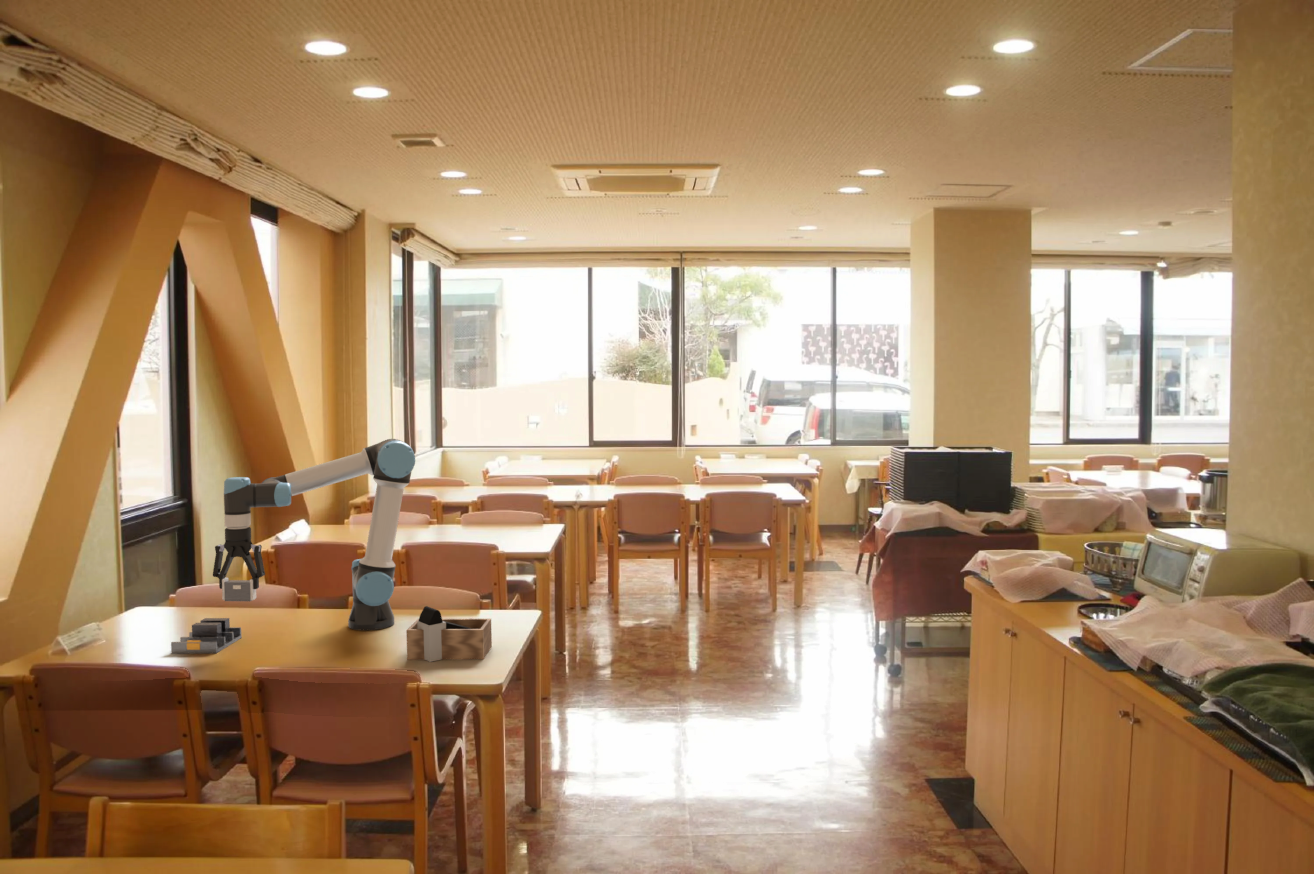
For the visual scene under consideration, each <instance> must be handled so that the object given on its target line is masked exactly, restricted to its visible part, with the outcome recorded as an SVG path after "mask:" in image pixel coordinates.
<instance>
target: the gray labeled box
mask: <svg viewBox="0 0 1314 874" xmlns="http://www.w3.org/2000/svg"><path fill="white" fill-rule="evenodd" d="M224 592H225V600H224V602H252V601H253V600H250V579H249V580H246V579H245V580H244V579H241V580H239V579H236V580H235V579H231V580H230V579H228V581H226V582H224Z"/></svg>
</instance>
